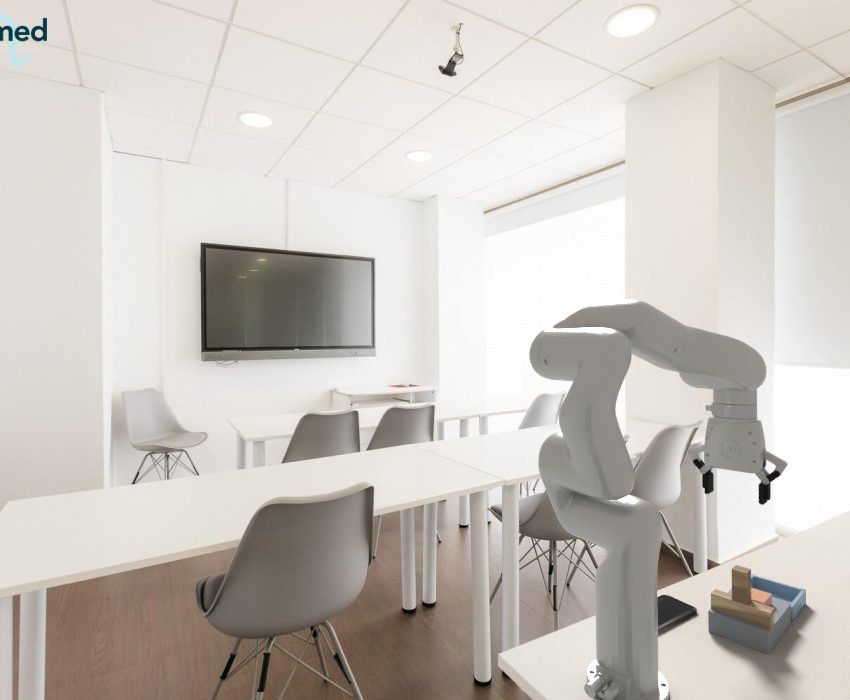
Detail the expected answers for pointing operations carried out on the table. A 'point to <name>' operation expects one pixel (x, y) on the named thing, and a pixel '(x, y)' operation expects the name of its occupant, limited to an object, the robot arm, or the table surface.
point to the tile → (761, 597)
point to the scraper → (742, 600)
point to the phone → (672, 612)
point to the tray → (782, 593)
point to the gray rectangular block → (751, 627)
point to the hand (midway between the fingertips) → (735, 497)
